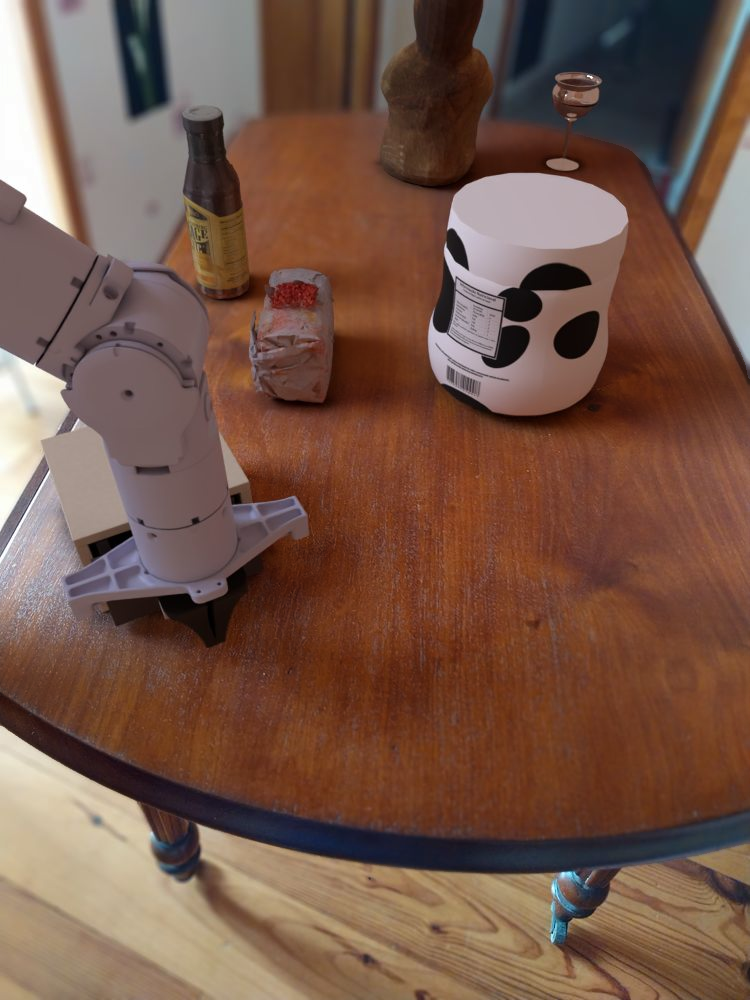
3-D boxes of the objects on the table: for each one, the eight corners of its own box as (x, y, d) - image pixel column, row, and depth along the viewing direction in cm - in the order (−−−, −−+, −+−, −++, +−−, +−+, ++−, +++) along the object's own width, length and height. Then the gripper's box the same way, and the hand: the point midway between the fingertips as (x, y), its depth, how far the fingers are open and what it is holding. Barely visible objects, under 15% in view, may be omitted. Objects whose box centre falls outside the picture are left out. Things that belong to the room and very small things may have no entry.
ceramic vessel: (472, 147, 121) (496, -87, 100) (496, 207, 106) (530, -55, 84) (375, 148, 120) (378, -87, 99) (384, 208, 105) (390, -55, 83)
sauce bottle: (192, 281, 90) (160, 103, 76) (242, 271, 92) (220, 95, 78) (207, 308, 86) (177, 125, 72) (259, 297, 88) (240, 116, 74)
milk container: (585, 337, 83) (626, 172, 70) (605, 439, 71) (659, 262, 58) (428, 328, 84) (440, 163, 71) (421, 427, 71) (434, 250, 59)
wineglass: (534, 157, 119) (548, 72, 110) (575, 154, 119) (591, 71, 111) (548, 174, 114) (564, 87, 105) (591, 171, 115) (609, 85, 106)
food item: (334, 412, 73) (331, 324, 66) (252, 412, 73) (240, 324, 66) (336, 334, 83) (334, 250, 76) (264, 334, 82) (255, 249, 75)
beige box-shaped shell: (260, 554, 60) (249, 481, 54) (102, 613, 56) (72, 541, 50) (212, 466, 67) (198, 394, 62) (69, 512, 63) (39, 439, 57)
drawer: (283, 607, 55) (276, 551, 51) (130, 669, 52) (108, 614, 47) (218, 486, 64) (207, 429, 60) (83, 531, 60) (60, 474, 56)
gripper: (55, 591, 36) (119, 727, 46) (326, 495, 41) (333, 636, 51) (29, 499, 41) (93, 641, 50) (277, 422, 46) (292, 565, 55)
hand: (211, 634), depth 51 cm, fingers closed, pressing on drawer
